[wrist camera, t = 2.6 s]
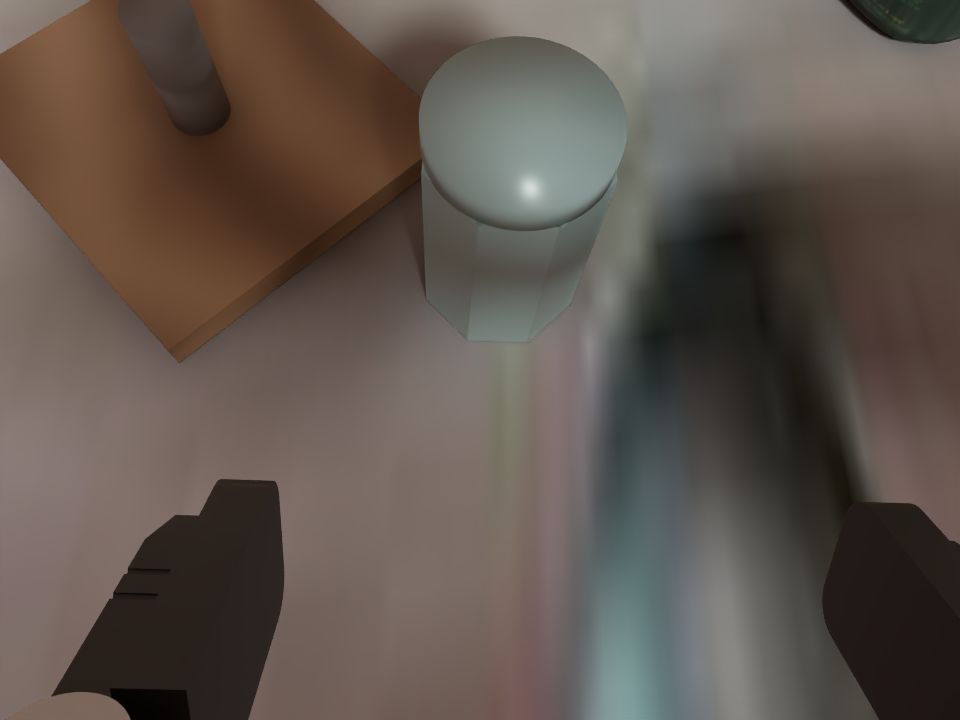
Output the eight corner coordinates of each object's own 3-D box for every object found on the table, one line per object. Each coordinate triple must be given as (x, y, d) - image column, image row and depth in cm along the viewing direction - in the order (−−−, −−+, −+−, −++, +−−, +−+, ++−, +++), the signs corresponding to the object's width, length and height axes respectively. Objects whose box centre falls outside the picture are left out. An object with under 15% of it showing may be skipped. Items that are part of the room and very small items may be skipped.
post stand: (233, -56, 33) (189, -204, 27) (455, 151, 30) (459, 33, 24) (-41, 110, 30) (-158, -20, 24) (179, 363, 27) (106, 284, 21)
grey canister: (500, 186, 30) (524, 4, 21) (602, 280, 28) (670, 127, 20) (394, 271, 28) (374, 111, 20) (497, 373, 27) (523, 251, 19)
